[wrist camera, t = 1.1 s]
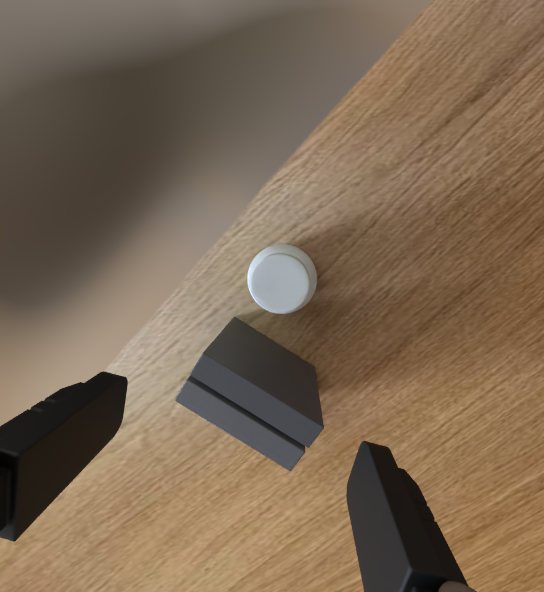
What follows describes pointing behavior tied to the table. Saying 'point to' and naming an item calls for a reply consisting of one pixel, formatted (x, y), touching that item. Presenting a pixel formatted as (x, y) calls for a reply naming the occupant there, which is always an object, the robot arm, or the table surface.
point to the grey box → (256, 393)
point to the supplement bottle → (282, 278)
